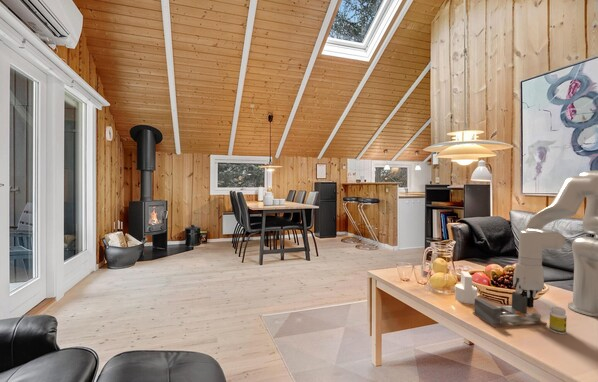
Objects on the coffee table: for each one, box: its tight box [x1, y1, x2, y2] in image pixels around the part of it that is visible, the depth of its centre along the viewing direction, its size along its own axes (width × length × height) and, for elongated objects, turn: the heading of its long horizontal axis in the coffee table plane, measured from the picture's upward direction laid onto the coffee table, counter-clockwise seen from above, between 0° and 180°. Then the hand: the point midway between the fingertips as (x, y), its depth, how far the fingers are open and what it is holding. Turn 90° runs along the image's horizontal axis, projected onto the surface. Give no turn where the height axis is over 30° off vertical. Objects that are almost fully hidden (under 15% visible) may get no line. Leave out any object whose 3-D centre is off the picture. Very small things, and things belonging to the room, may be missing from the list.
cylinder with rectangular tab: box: [454, 270, 478, 305], centre depth 141 cm, size 9×9×12 cm
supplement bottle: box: [548, 306, 568, 335], centre depth 112 cm, size 5×5×8 cm
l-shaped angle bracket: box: [501, 291, 528, 317], centre depth 120 cm, size 8×9×9 cm
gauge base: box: [472, 298, 547, 328], centre depth 121 cm, size 22×12×7 cm, turn 97°
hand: (528, 306), depth 122 cm, fingers closed
